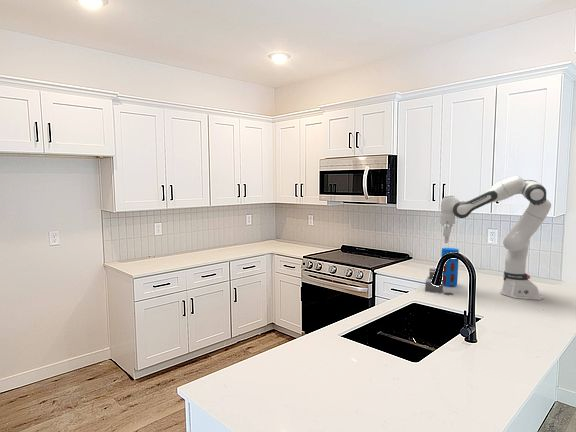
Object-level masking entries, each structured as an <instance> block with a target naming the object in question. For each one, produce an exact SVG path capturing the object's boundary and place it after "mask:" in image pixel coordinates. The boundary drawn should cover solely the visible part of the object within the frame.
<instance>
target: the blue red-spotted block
mask: <svg viewBox="0 0 576 432" xmlns="http://www.w3.org/2000/svg"><path fill="white" fill-rule="evenodd" d="M459 251H460V249H458V248H455V247H442V248H441V254H440V255H441V257H440V259H441V258H442V257H443V256H444V255H445V254H447V253H450V252H457V253H459ZM459 254H460V253H459ZM458 274H459V259H449V260H448V261H447V262H446V264H445V266H444V271H443V280H442V281H443V287H448V288H456V287H458V280H459V279H458V277H459V275H458Z"/></svg>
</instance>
